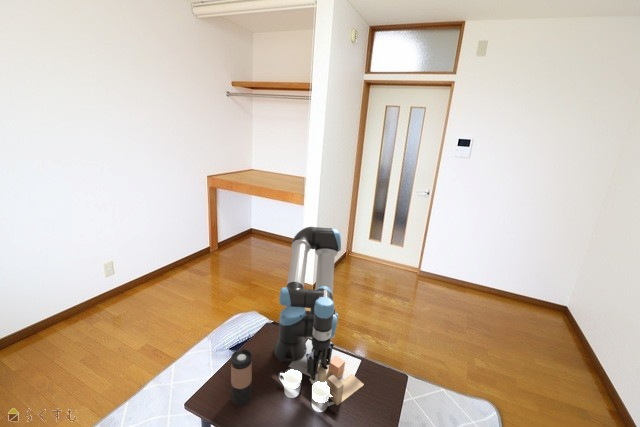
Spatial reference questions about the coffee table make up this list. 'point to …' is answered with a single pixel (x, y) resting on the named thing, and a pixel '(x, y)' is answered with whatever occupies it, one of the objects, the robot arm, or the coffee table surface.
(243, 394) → the travel mug
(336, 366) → the cube
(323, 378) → the wooden slider
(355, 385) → the wooden l-shaped block
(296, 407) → the coffee table surface
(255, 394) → the coffee table surface
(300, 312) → the robot arm
